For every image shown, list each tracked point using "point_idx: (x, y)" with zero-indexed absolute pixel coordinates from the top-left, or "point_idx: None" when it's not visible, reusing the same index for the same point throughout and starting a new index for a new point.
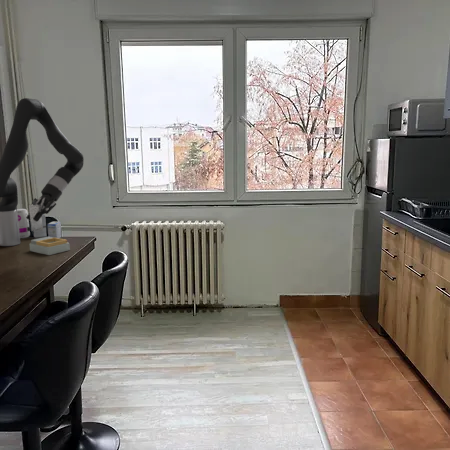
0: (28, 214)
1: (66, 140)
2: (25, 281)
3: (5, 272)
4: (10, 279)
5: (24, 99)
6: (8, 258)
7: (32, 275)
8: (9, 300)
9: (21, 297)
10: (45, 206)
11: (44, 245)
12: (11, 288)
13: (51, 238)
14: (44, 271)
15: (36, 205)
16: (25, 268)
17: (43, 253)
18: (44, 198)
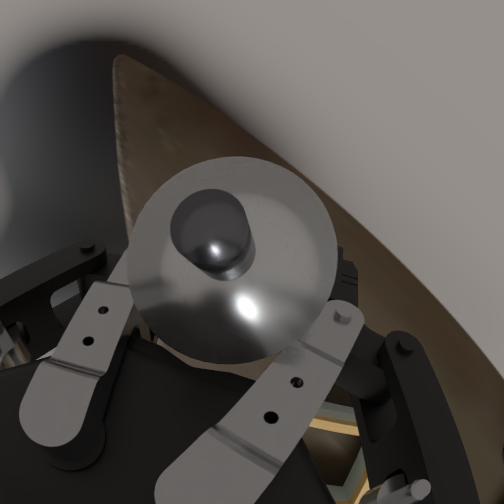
0: (339, 263)
1: None
2: (152, 120)
3: (269, 151)
4: (201, 116)
5: None
6: (414, 294)
7: (163, 157)
8: (126, 62)
9: (113, 75)
10: (49, 272)
11: (328, 418)
12: (156, 86)
13: (358, 499)
14: (151, 196)
15: (146, 209)
16: None
17: (327, 402)
18: (28, 407)
